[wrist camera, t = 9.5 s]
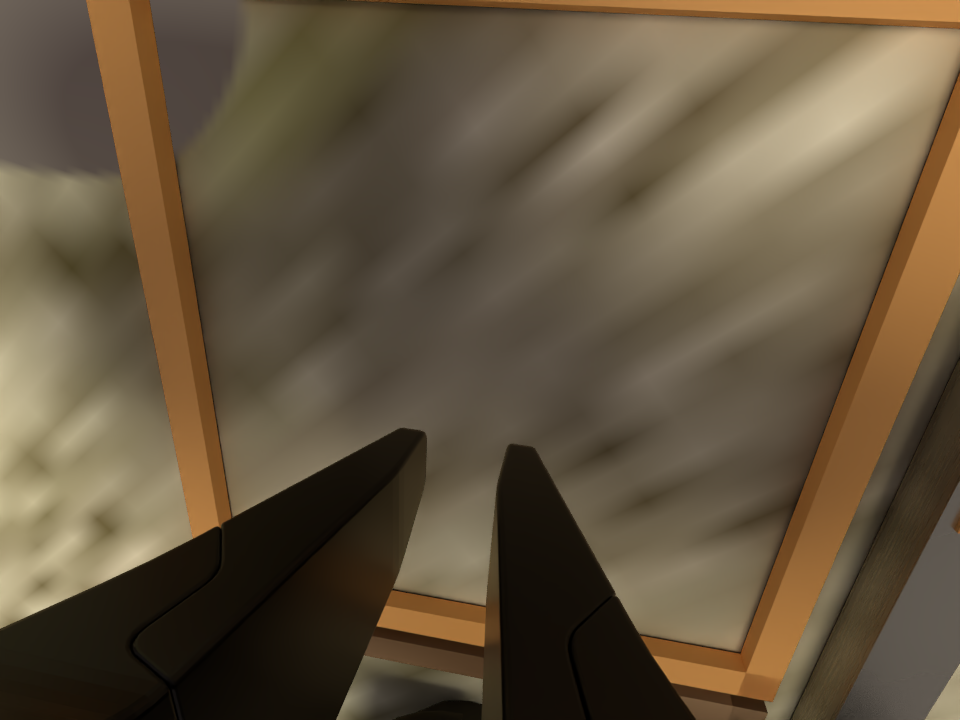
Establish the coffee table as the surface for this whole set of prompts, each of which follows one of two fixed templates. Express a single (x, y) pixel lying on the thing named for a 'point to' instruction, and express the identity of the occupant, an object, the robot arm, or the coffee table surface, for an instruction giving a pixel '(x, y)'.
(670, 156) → the coffee table surface
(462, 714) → the end cap
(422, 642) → the walnut seat frame
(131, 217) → the orange marked frame
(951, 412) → the metal rail
